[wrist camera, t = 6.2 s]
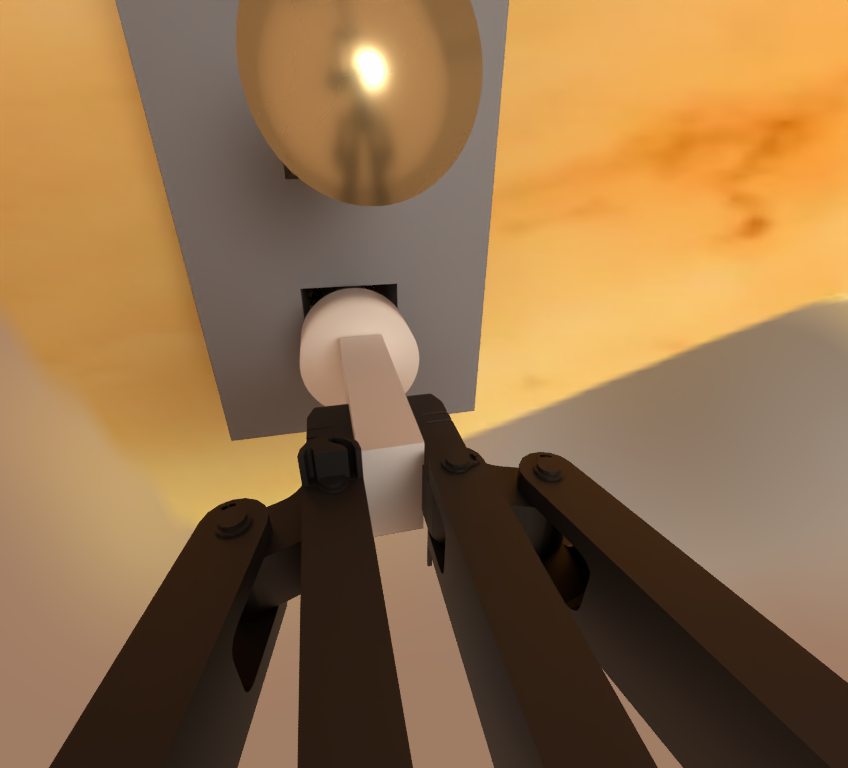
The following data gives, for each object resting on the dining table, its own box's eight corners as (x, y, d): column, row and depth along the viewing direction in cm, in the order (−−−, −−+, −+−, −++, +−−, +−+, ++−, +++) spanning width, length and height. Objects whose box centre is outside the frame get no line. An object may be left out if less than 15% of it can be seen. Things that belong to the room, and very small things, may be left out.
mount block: (249, 372, 25) (231, 440, 19) (87, -380, 13) (-107, -843, 7) (439, 355, 28) (474, 410, 22) (460, -287, 15) (556, -565, 9)
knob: (308, 329, 24) (307, 420, 16) (297, 251, 22) (291, 311, 14) (383, 323, 25) (418, 407, 17) (380, 249, 23) (419, 303, 15)
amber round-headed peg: (286, 177, 16) (261, 208, 7) (268, 42, 14) (206, -122, 5) (391, 177, 16) (473, 205, 8) (388, 50, 15) (492, -81, 6)
